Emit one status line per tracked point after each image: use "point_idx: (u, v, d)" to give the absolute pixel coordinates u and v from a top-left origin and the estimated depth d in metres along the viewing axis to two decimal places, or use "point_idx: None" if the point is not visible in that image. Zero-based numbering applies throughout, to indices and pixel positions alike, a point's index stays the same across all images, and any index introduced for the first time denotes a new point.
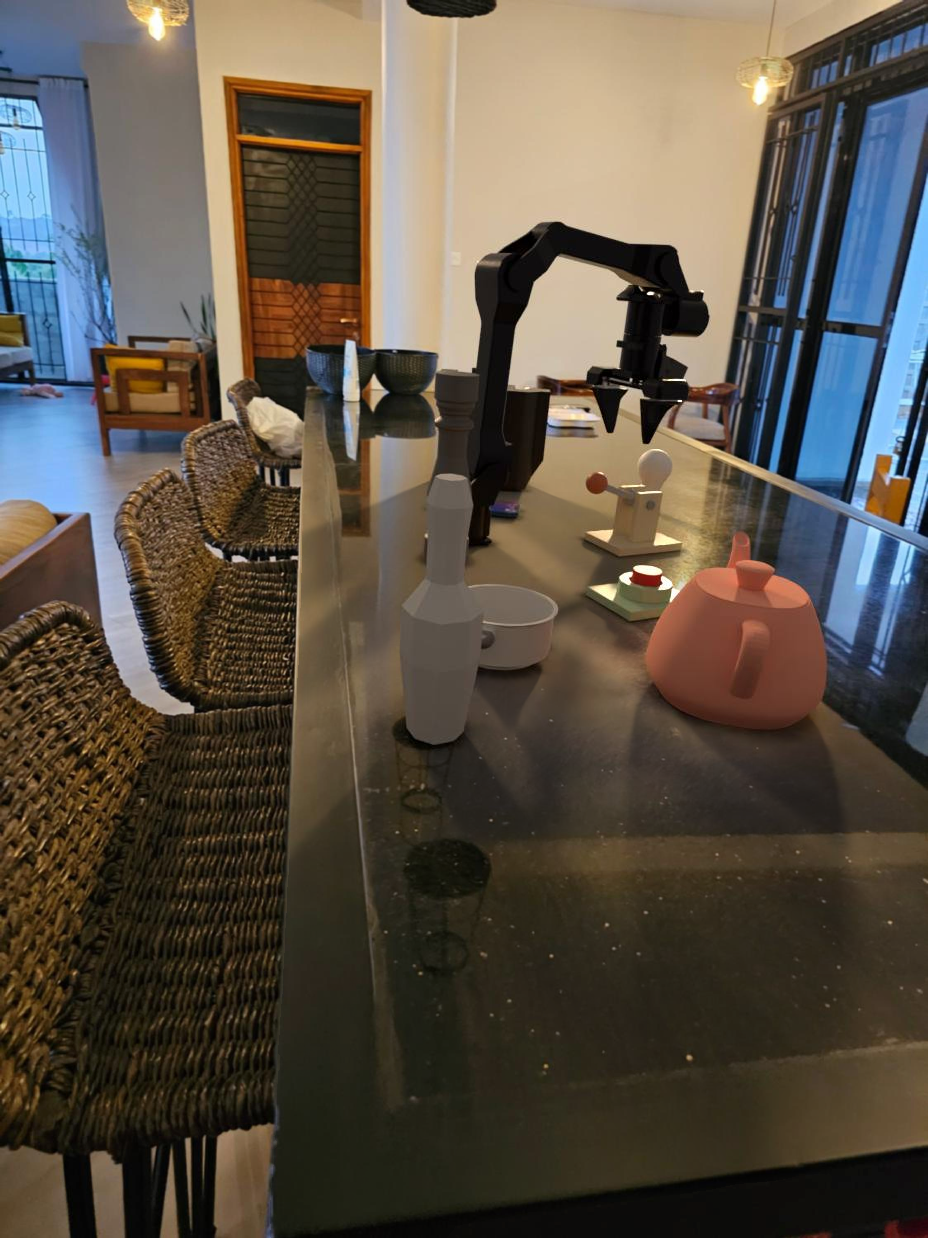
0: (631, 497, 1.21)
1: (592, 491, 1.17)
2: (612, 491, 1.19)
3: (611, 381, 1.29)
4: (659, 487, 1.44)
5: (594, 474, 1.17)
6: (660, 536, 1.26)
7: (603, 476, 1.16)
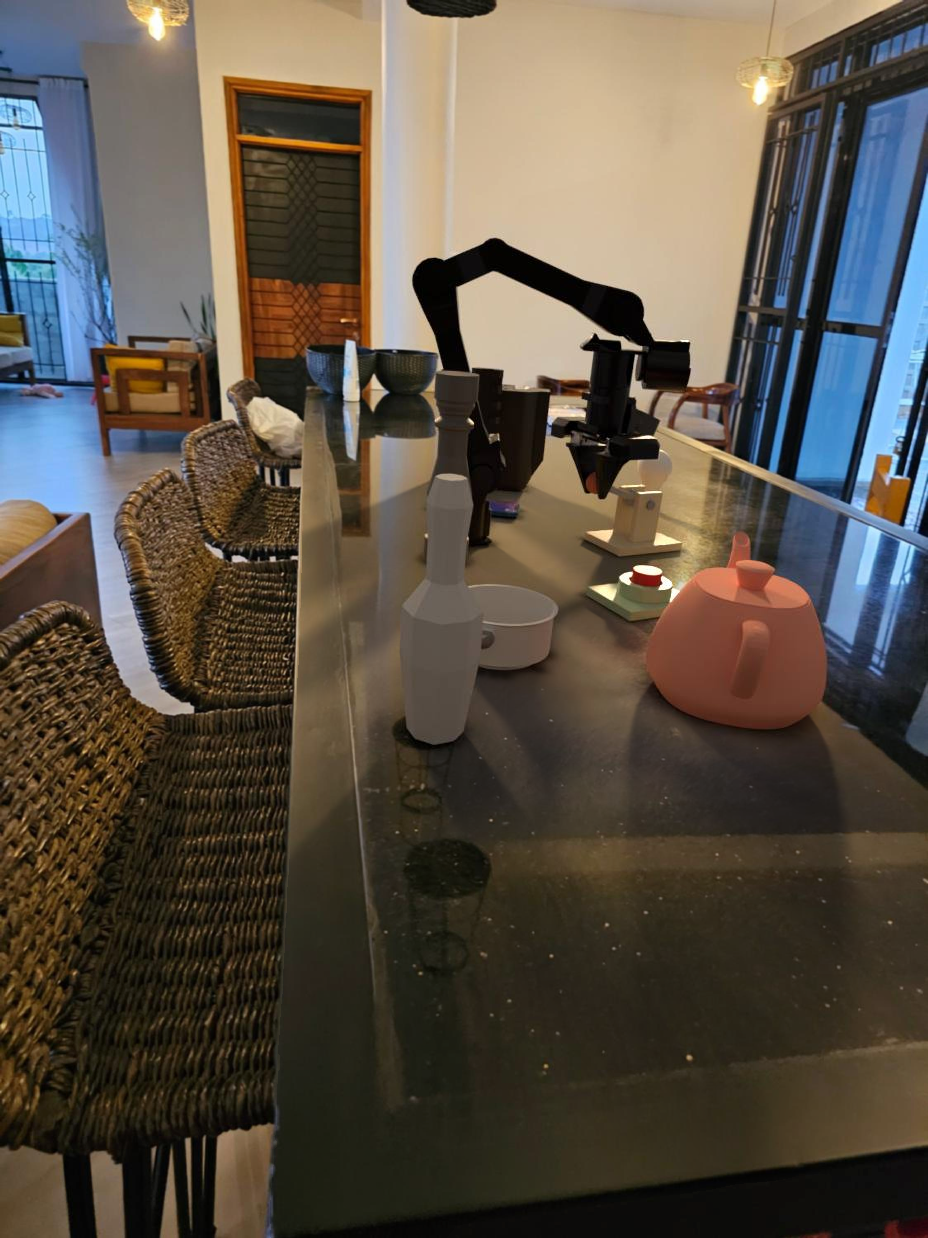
0: (631, 497, 1.21)
1: (592, 491, 1.17)
2: (612, 491, 1.19)
3: (589, 437, 1.17)
4: (659, 487, 1.44)
5: (594, 474, 1.17)
6: (660, 536, 1.26)
7: None
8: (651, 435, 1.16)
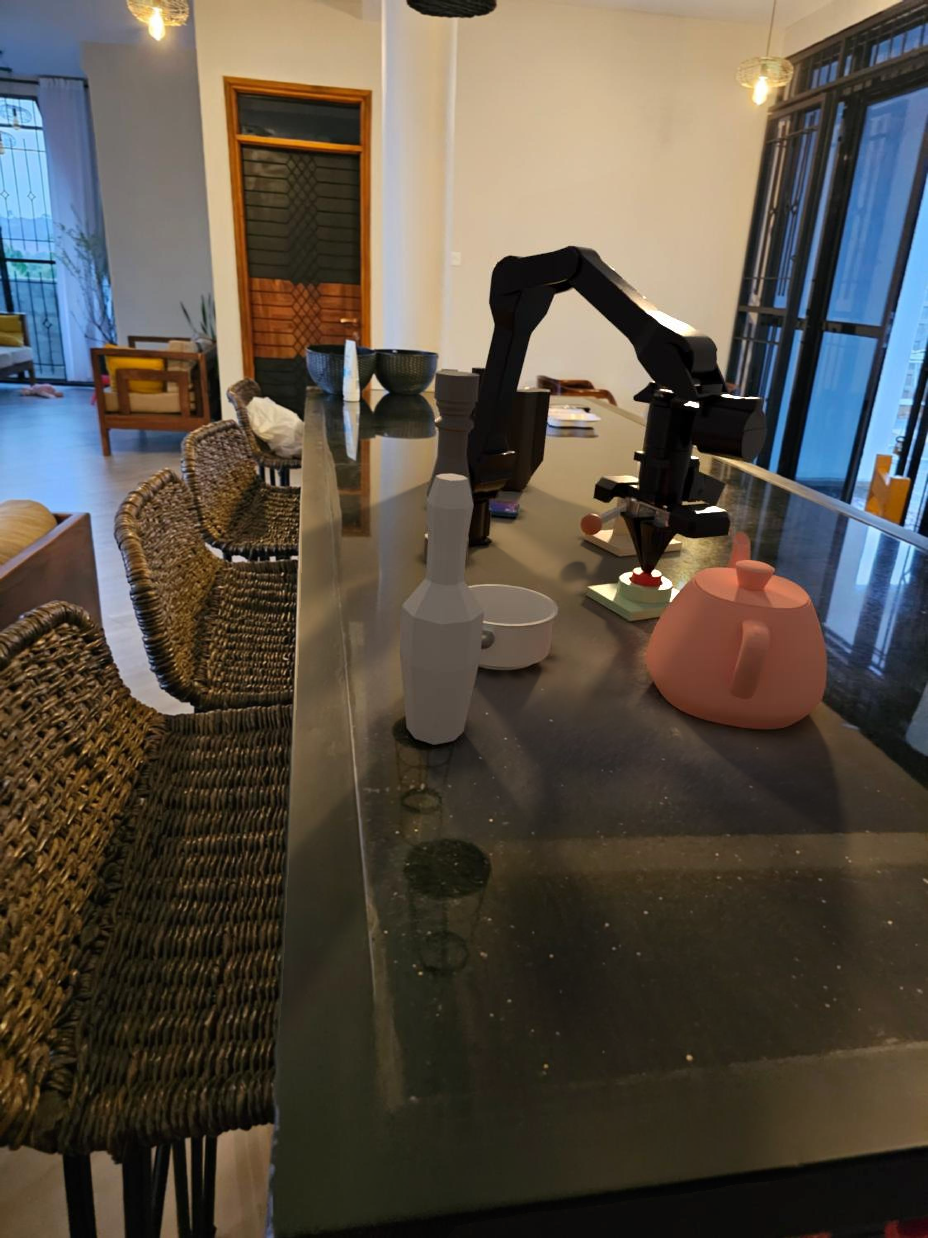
0: None
1: (591, 534, 1.20)
2: (609, 519, 1.20)
3: (649, 507, 0.97)
4: None
5: (584, 521, 1.19)
6: None
7: (593, 519, 1.18)
8: (715, 501, 0.98)
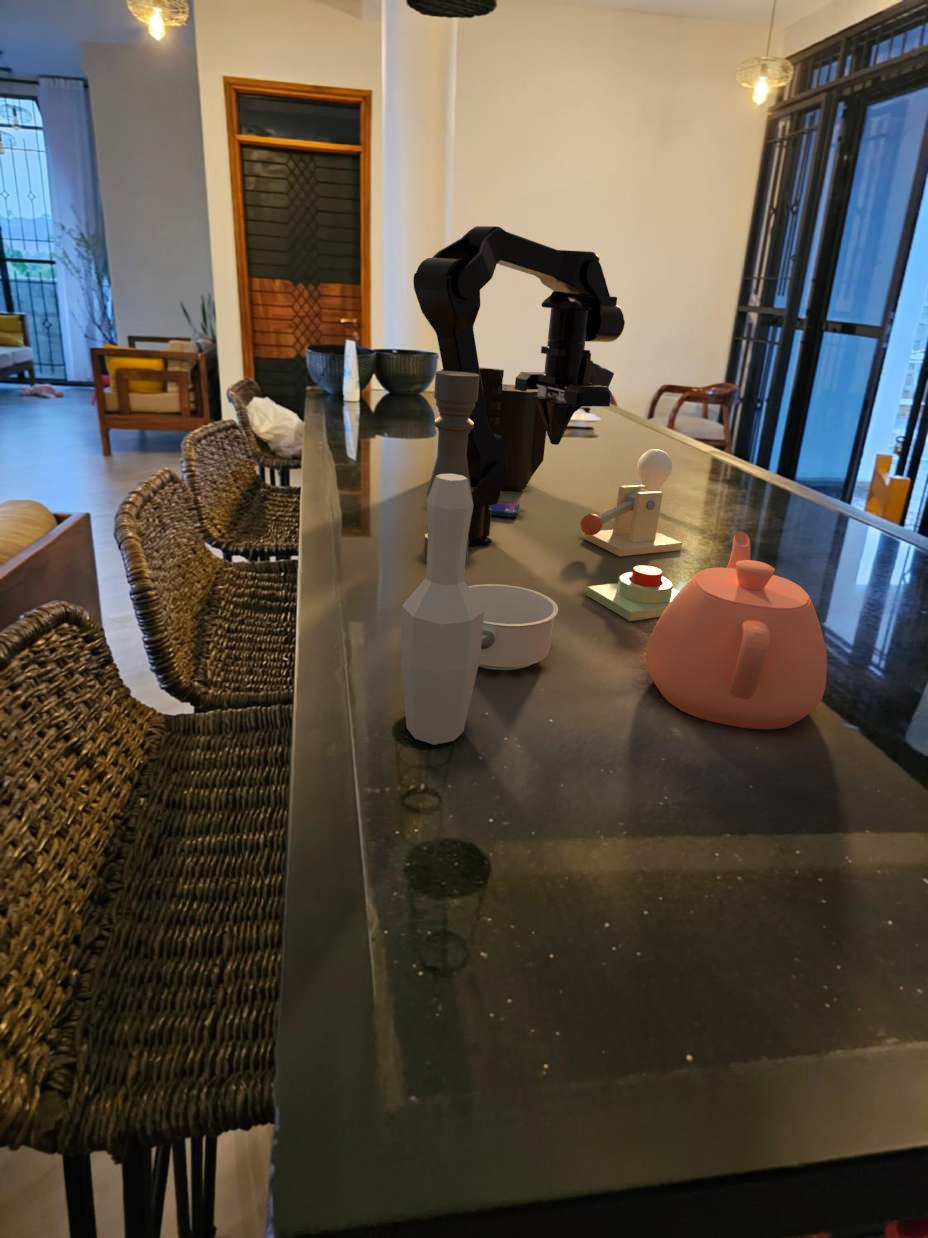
0: (630, 507, 1.21)
1: (591, 534, 1.20)
2: (609, 519, 1.20)
3: (554, 391, 1.26)
4: (659, 487, 1.44)
5: (584, 521, 1.19)
6: (660, 536, 1.26)
7: (593, 519, 1.18)
8: (606, 387, 1.26)
